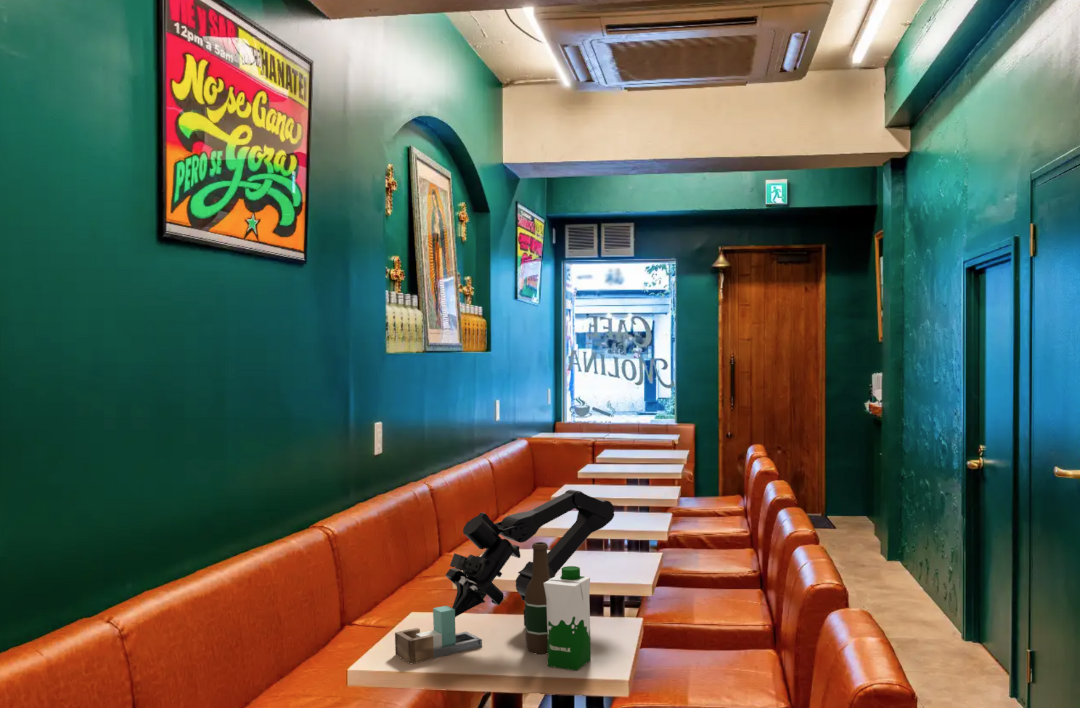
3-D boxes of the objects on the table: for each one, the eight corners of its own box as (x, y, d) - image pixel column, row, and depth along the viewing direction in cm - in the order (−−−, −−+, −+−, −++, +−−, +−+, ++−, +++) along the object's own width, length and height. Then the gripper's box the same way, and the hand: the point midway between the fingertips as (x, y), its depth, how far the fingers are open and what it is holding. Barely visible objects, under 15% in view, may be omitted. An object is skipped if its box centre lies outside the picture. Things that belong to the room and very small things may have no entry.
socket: (418, 649, 201) (417, 627, 201) (433, 658, 194) (433, 636, 194) (395, 654, 198) (394, 632, 198) (410, 664, 191) (410, 641, 191)
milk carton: (596, 659, 191) (593, 567, 191) (578, 673, 183) (575, 577, 183) (560, 654, 195) (557, 564, 195) (541, 667, 187) (538, 573, 187)
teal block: (447, 644, 203) (446, 605, 203) (455, 648, 200) (454, 609, 200) (416, 651, 198) (415, 611, 199) (424, 656, 195) (423, 615, 195)
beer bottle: (556, 655, 194) (553, 547, 194) (522, 654, 195) (519, 546, 196) (562, 644, 202) (559, 539, 202) (529, 643, 203) (526, 539, 203)
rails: (466, 639, 208) (466, 631, 208) (482, 646, 201) (481, 639, 201) (418, 649, 201) (418, 641, 201) (433, 658, 194) (433, 650, 194)
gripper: (451, 534, 212) (411, 587, 206) (490, 546, 197) (448, 604, 191) (480, 562, 217) (441, 615, 210) (521, 576, 201) (480, 633, 195)
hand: (451, 616), depth 201 cm, fingers closed, pressing on teal block
